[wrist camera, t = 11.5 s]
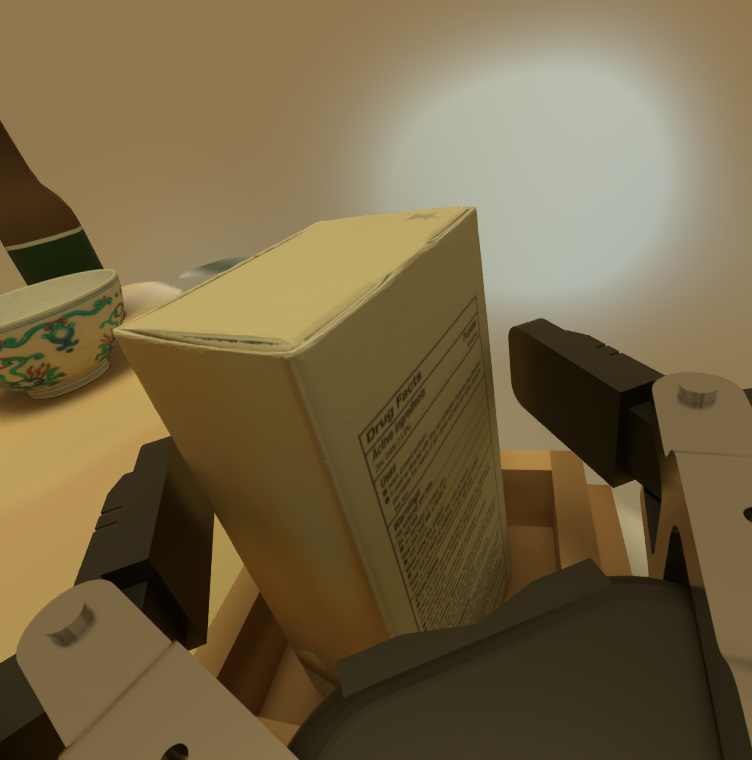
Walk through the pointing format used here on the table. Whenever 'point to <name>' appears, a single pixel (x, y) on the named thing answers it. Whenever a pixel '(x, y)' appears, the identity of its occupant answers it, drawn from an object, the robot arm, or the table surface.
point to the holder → (528, 563)
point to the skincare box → (344, 426)
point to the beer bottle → (38, 223)
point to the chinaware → (59, 332)
